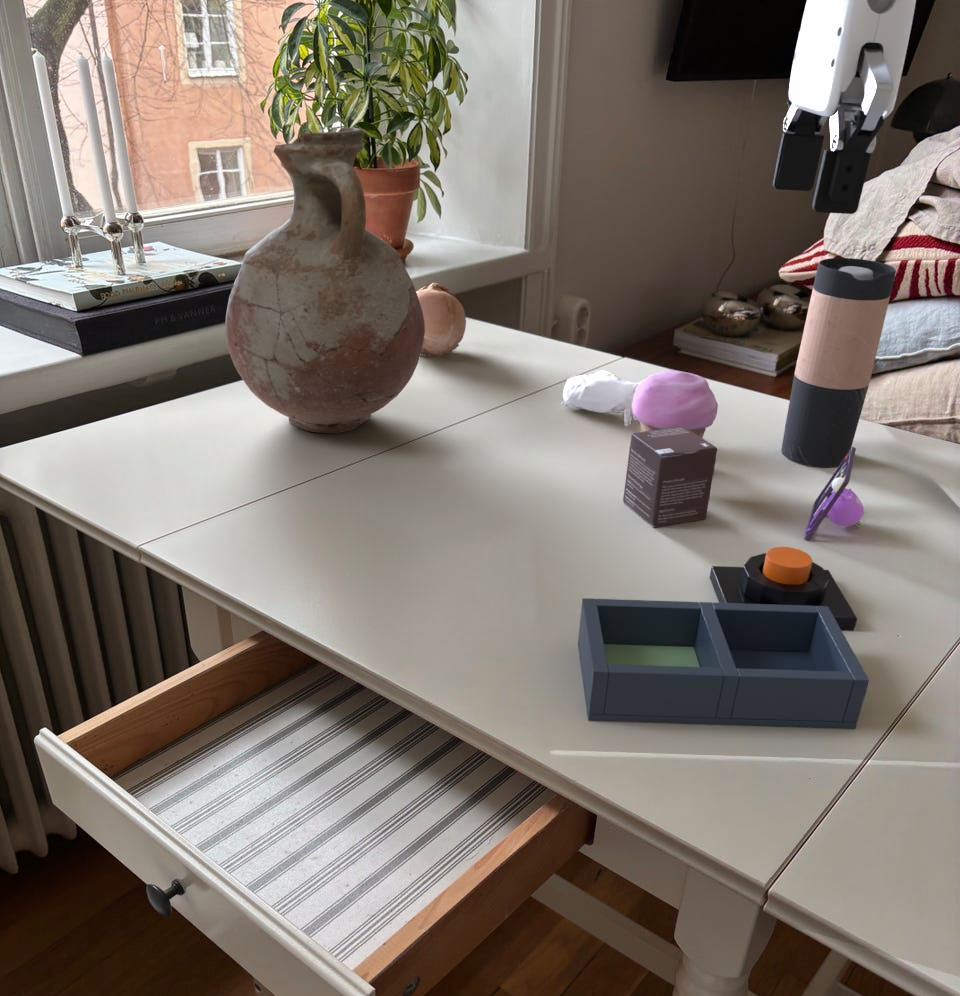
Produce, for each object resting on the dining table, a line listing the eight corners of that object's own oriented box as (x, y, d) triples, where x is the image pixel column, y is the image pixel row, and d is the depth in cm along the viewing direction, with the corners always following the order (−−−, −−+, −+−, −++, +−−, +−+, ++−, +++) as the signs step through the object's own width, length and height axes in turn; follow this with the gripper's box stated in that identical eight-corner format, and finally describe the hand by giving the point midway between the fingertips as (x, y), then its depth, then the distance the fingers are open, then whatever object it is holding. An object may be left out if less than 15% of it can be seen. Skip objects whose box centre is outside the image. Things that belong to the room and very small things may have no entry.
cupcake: (716, 481, 102) (732, 386, 97) (633, 480, 102) (645, 385, 96) (696, 448, 110) (710, 359, 104) (618, 448, 109) (628, 357, 104)
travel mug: (805, 437, 114) (845, 254, 103) (863, 458, 109) (912, 268, 98) (764, 451, 110) (801, 262, 99) (823, 474, 105) (869, 278, 94)
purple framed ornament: (845, 442, 94) (837, 476, 87) (895, 468, 94) (891, 504, 87) (807, 498, 98) (796, 536, 91) (854, 524, 98) (847, 563, 91)
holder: (816, 652, 75) (828, 605, 73) (855, 729, 67) (870, 680, 65) (577, 644, 75) (582, 597, 73) (588, 721, 67) (593, 671, 65)
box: (675, 495, 99) (685, 425, 95) (707, 520, 94) (720, 448, 90) (621, 503, 97) (629, 431, 93) (651, 529, 92) (661, 455, 88)
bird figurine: (642, 424, 119) (573, 388, 122) (657, 376, 114) (584, 340, 117) (621, 443, 116) (551, 405, 119) (635, 395, 111) (562, 357, 114)
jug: (348, 377, 127) (337, 113, 110) (465, 423, 114) (471, 132, 98) (199, 415, 114) (161, 122, 97) (312, 472, 101) (291, 146, 85)
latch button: (801, 566, 81) (805, 547, 81) (813, 587, 78) (818, 568, 77) (757, 564, 81) (761, 545, 80) (768, 586, 78) (772, 566, 77)
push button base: (825, 581, 85) (833, 550, 83) (854, 631, 78) (863, 598, 76) (709, 578, 85) (714, 546, 83) (727, 627, 78) (734, 594, 76)
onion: (433, 366, 141) (443, 294, 140) (474, 364, 134) (485, 289, 133) (378, 351, 135) (388, 276, 134) (418, 348, 128) (429, 269, 127)
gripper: (987, -79, 59) (904, 225, 69) (877, -66, 74) (821, 184, 83) (865, -88, 59) (799, 220, 68) (779, -73, 73) (734, 179, 83)
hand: (811, 200), depth 76 cm, fingers open, 9 cm apart
